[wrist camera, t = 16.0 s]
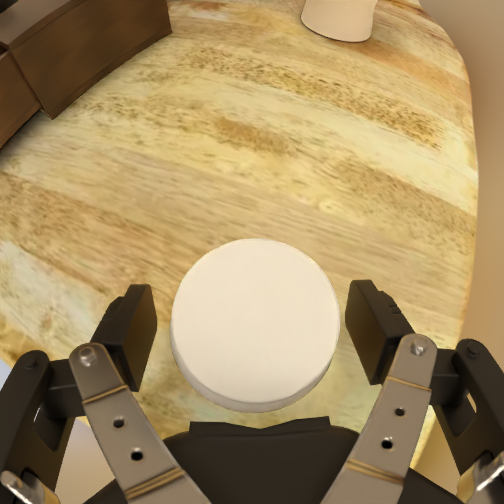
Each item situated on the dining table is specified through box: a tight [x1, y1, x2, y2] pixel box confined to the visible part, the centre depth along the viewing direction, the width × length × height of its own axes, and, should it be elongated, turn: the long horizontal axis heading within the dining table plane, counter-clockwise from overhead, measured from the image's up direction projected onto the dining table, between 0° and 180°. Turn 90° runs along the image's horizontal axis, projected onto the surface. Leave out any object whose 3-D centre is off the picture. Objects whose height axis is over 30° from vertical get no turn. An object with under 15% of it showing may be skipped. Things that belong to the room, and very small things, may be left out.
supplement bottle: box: [170, 238, 340, 413], centre depth 12 cm, size 5×5×10 cm
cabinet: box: [0, 0, 172, 120], centre depth 20 cm, size 15×13×9 cm
